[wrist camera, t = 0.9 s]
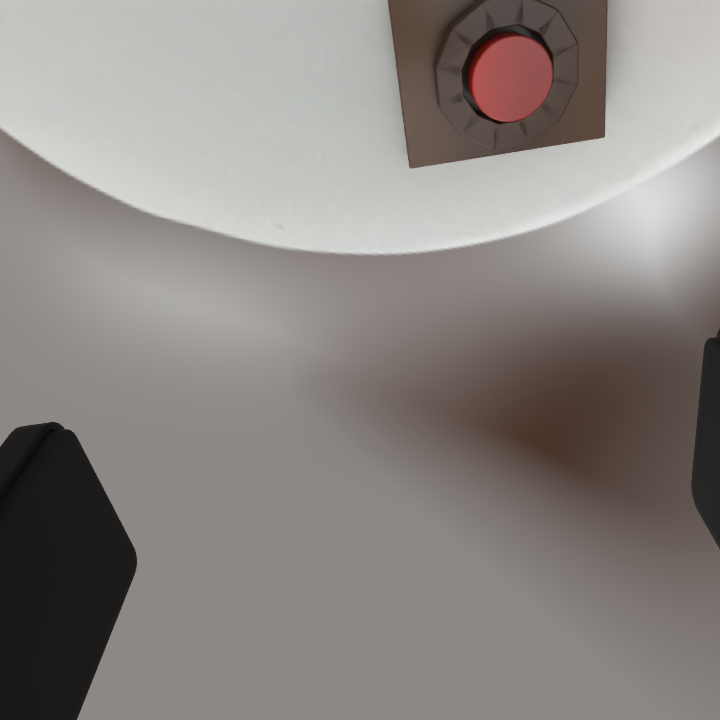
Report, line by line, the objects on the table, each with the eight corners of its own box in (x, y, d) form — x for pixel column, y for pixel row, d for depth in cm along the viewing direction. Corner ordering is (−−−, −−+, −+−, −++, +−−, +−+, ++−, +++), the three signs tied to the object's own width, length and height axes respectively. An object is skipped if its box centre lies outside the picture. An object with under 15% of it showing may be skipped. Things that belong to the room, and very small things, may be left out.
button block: (408, 158, 37) (411, 178, 33) (387, -4, 33) (388, -1, 29) (593, 128, 35) (616, 145, 32) (594, -44, 31) (621, -45, 28)
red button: (470, 120, 32) (475, 128, 31) (464, 39, 30) (468, 43, 29) (546, 108, 32) (554, 115, 30) (543, 25, 30) (552, 28, 28)
